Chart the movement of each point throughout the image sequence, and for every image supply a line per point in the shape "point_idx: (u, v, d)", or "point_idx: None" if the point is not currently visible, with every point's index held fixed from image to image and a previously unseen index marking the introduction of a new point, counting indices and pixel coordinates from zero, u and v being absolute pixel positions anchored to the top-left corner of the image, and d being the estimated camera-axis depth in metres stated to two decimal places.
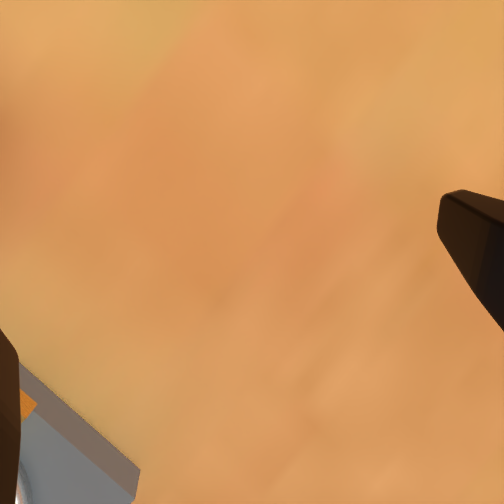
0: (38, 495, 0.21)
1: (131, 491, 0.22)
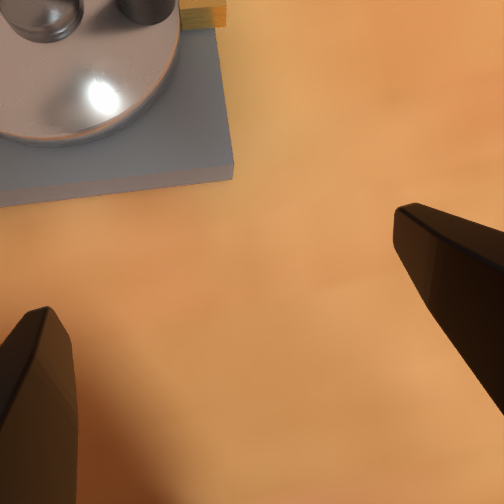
0: (164, 99, 0.21)
1: None
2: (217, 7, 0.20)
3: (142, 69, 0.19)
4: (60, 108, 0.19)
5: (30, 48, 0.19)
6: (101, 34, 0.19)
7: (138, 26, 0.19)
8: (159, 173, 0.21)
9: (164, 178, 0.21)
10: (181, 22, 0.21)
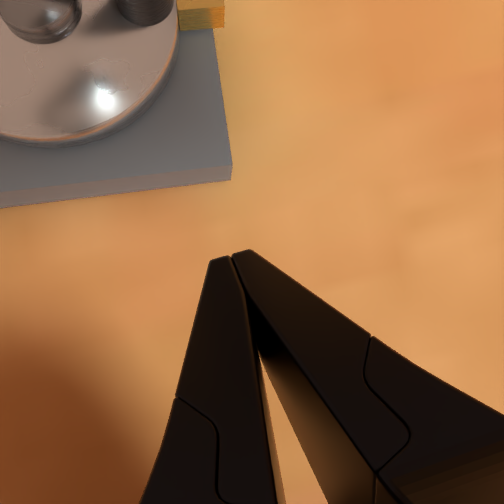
0: (162, 100, 0.21)
1: None
2: (215, 8, 0.20)
3: (140, 70, 0.19)
4: (58, 109, 0.19)
5: (28, 49, 0.19)
6: (99, 35, 0.19)
7: (136, 26, 0.19)
8: (158, 173, 0.21)
9: (163, 179, 0.21)
10: (179, 23, 0.21)
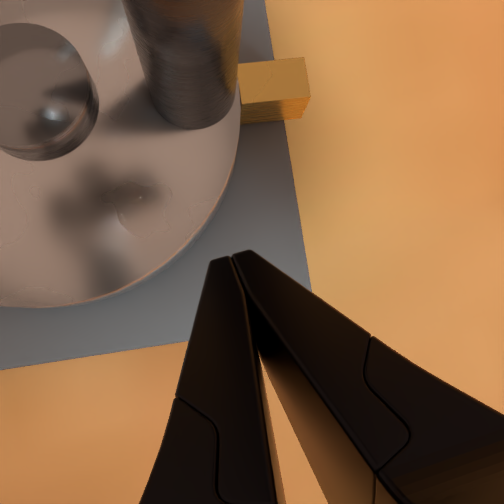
0: (214, 225, 0.14)
1: None
2: (296, 98, 0.13)
3: (188, 198, 0.13)
4: (63, 263, 0.12)
5: (18, 170, 0.12)
6: (125, 145, 0.13)
7: (181, 130, 0.13)
8: None
9: None
10: (240, 116, 0.14)
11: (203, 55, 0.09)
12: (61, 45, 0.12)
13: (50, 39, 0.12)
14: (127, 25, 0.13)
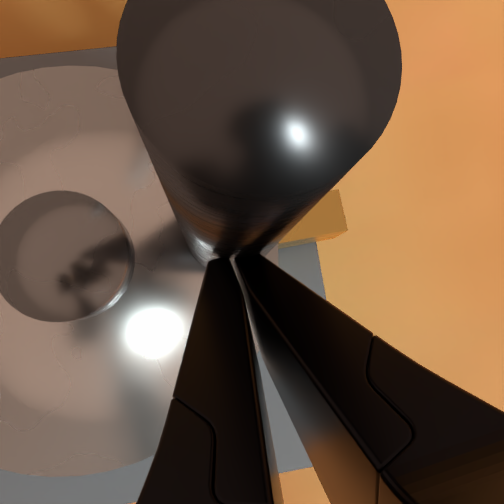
0: None
1: None
2: None
3: None
4: (110, 426, 0.12)
5: (57, 331, 0.12)
6: (164, 296, 0.12)
7: None
8: None
9: None
10: None
11: None
12: (98, 211, 0.11)
13: (86, 205, 0.11)
14: None
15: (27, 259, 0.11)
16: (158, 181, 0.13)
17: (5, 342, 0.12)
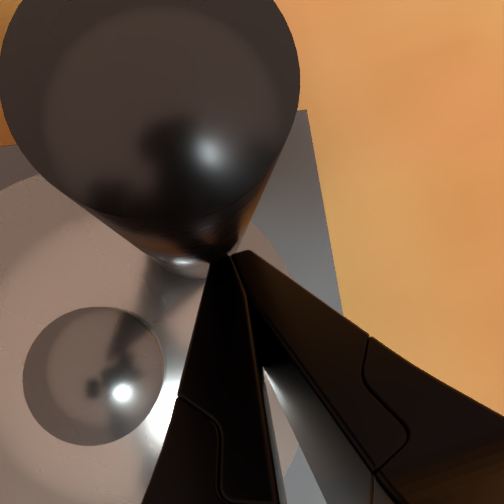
0: None
1: None
2: None
3: None
4: None
5: (145, 429, 0.12)
6: None
7: None
8: None
9: None
10: None
11: None
12: (88, 316, 0.11)
13: (75, 320, 0.11)
14: (97, 241, 0.12)
15: (72, 401, 0.11)
16: (107, 250, 0.12)
17: (116, 475, 0.12)
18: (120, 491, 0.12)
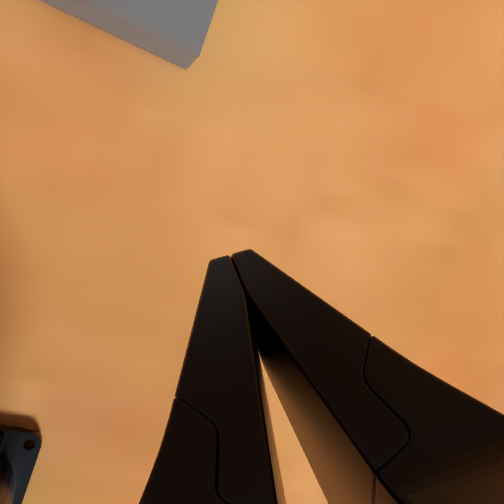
0: None
1: None
2: None
3: None
4: None
5: None
6: None
7: None
8: (118, 16, 0.18)
9: (119, 25, 0.19)
10: None
11: None
12: None
13: None
14: None
15: None
16: None
17: None
18: None
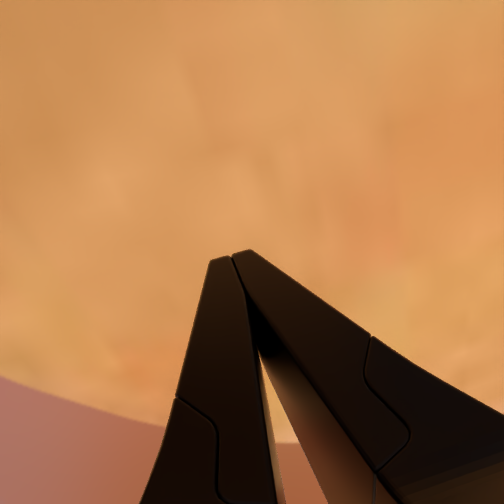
0: None
1: None
2: None
3: None
4: None
5: None
6: None
7: None
8: None
9: None
10: None
11: None
12: None
13: None
14: None
15: None
16: None
17: None
18: None
